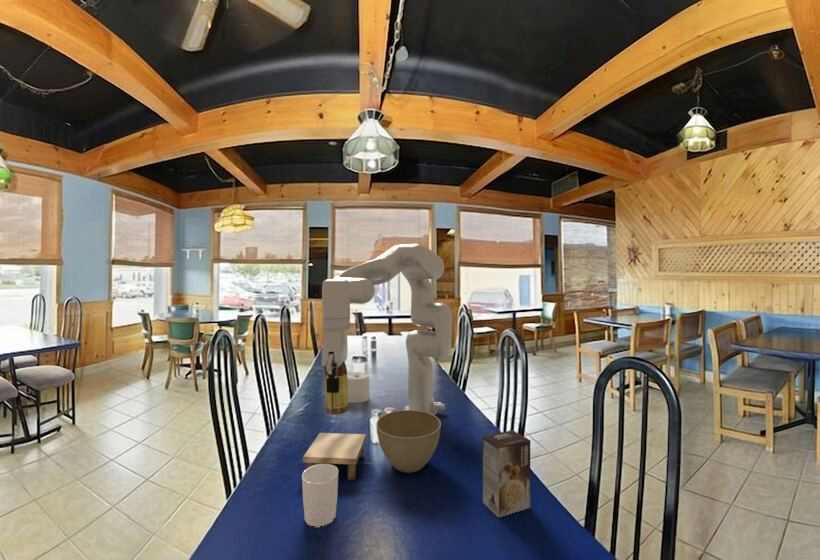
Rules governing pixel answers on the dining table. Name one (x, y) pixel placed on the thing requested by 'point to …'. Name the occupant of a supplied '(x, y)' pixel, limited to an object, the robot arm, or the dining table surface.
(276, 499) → the dining table surface
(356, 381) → the toilet tissue
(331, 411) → the sauce bottle
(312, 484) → the white cup
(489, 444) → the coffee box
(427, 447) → the tan bowl
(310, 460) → the footstool
